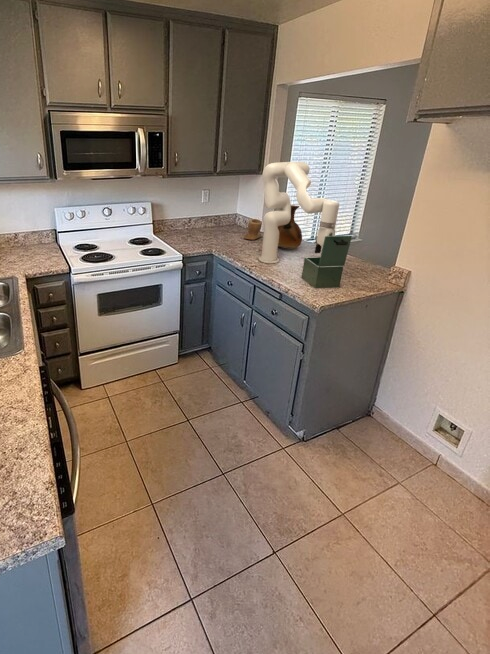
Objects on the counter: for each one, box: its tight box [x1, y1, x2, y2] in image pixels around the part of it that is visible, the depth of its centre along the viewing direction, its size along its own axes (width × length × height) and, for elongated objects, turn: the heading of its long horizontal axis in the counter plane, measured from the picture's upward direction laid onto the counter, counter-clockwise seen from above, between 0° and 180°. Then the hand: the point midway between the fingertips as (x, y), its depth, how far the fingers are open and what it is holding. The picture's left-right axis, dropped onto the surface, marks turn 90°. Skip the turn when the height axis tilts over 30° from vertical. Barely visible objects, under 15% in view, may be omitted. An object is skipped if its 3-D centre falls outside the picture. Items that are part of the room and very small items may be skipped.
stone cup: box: [243, 218, 263, 241], centre depth 272 cm, size 15×12×15 cm
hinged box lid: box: [319, 235, 353, 267], centre depth 178 cm, size 16×14×5 cm
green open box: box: [301, 256, 345, 289], centre depth 193 cm, size 16×14×12 cm
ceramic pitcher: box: [278, 204, 303, 250], centre depth 249 cm, size 20×20×30 cm
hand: (322, 255), depth 192 cm, fingers open, 9 cm apart
